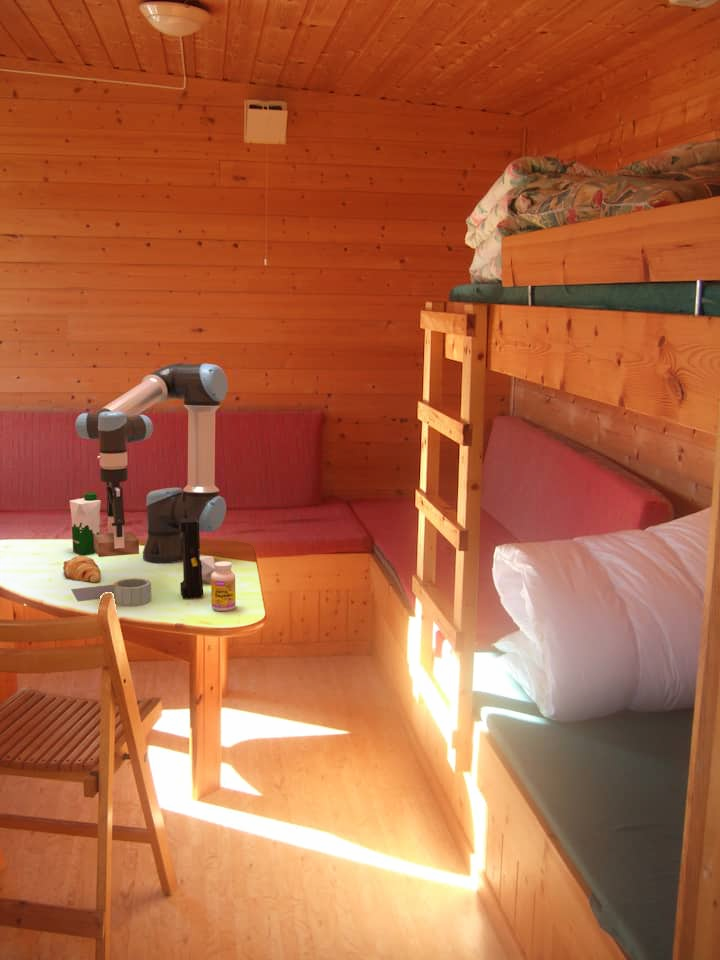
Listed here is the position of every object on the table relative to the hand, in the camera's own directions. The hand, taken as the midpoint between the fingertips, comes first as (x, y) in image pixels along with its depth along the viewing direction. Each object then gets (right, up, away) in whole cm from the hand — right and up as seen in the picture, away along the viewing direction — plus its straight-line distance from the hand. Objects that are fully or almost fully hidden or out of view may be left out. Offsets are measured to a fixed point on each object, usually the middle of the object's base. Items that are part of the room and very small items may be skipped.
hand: (116, 543), depth 278 cm
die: (+22, -13, +21) cm, 33 cm away
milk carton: (-24, -7, +56) cm, 61 cm away
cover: (0, -2, 0) cm, 2 cm away
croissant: (-17, -12, +26) cm, 33 cm away
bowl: (+5, -17, +1) cm, 17 cm away
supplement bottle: (+31, -18, -5) cm, 36 cm away
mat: (-8, -15, +8) cm, 19 cm away
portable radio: (+21, -16, +7) cm, 27 cm away
